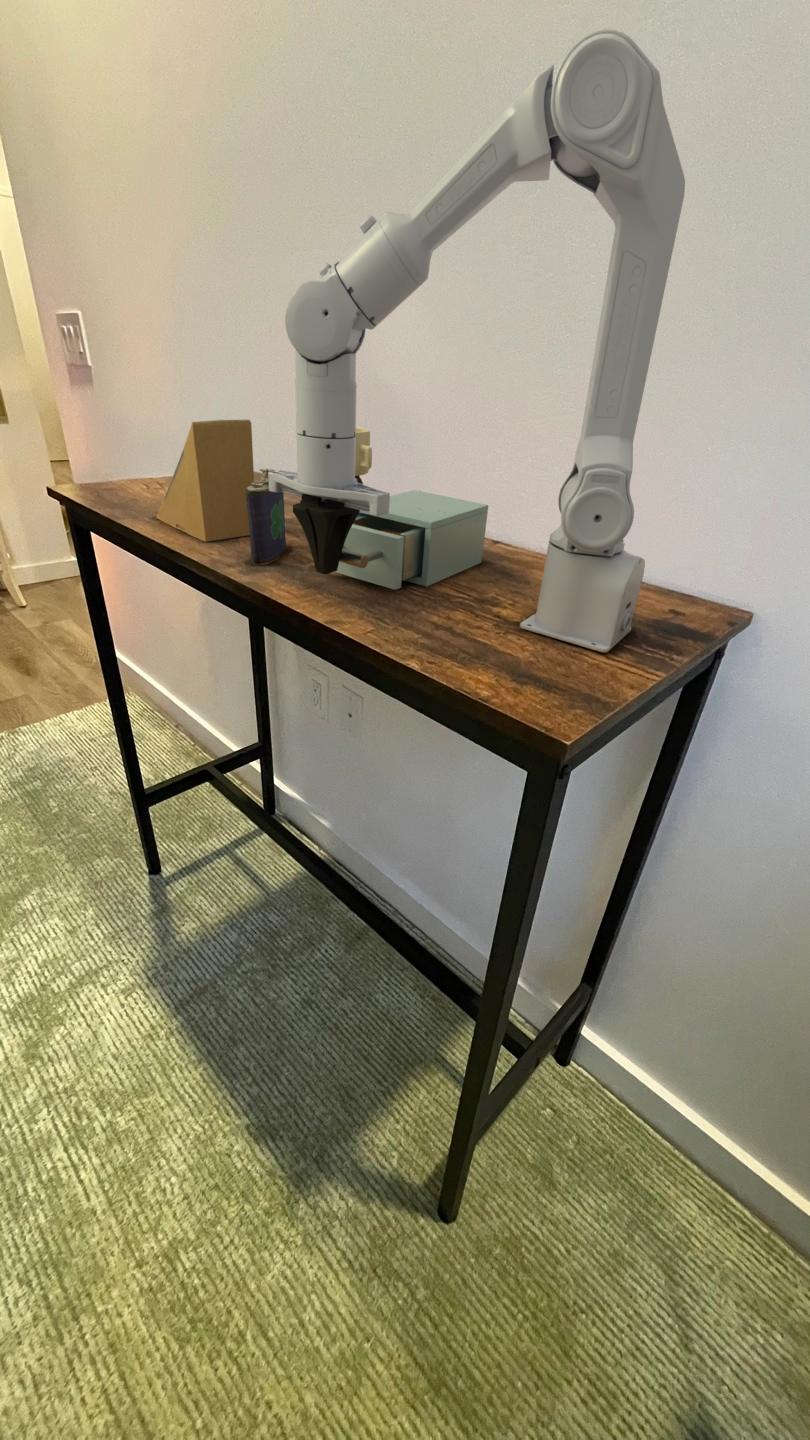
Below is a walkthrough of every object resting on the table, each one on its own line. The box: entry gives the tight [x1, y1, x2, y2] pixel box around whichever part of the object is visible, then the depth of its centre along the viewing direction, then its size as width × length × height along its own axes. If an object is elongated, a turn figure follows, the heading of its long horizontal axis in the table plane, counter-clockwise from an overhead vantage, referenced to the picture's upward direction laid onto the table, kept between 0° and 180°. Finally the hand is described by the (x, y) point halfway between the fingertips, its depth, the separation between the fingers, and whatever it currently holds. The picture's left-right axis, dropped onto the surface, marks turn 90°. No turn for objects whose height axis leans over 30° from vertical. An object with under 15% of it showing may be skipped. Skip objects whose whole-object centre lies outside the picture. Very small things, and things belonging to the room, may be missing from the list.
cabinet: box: [357, 489, 489, 588], centre depth 81 cm, size 14×12×8 cm
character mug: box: [355, 426, 373, 485], centre depth 100 cm, size 11×7×13 cm, turn 46°
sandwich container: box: [155, 419, 255, 543], centre depth 89 cm, size 9×15×15 cm, turn 43°
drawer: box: [333, 514, 426, 591], centre depth 75 cm, size 17×10×6 cm, turn 145°
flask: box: [246, 468, 287, 566], centre depth 80 cm, size 9×3×11 cm, turn 171°
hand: (326, 571), depth 69 cm, fingers closed, pressing on drawer
